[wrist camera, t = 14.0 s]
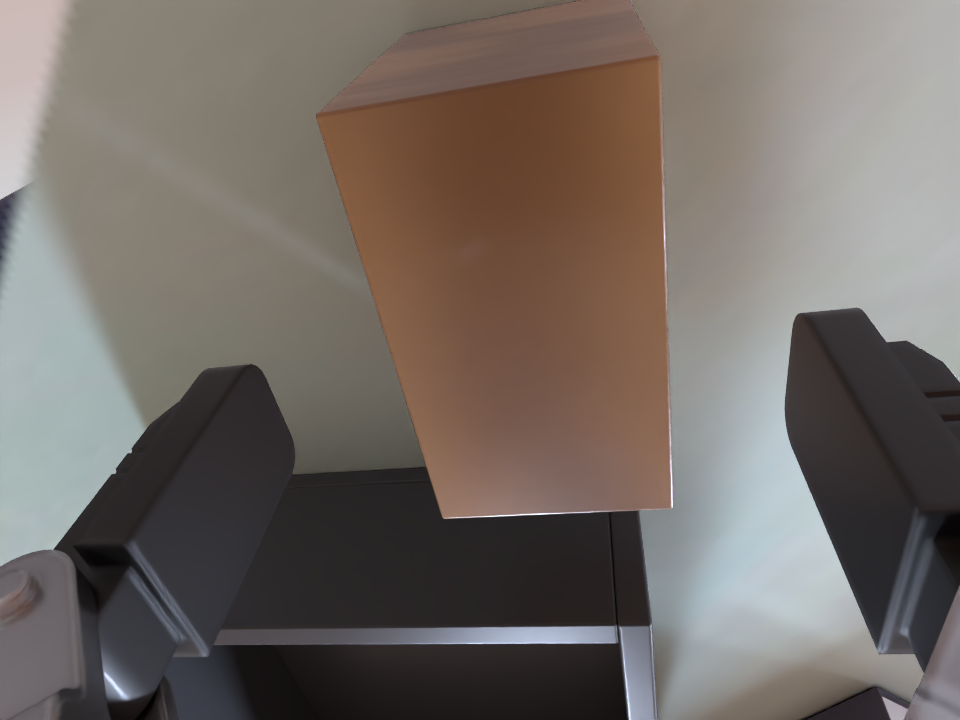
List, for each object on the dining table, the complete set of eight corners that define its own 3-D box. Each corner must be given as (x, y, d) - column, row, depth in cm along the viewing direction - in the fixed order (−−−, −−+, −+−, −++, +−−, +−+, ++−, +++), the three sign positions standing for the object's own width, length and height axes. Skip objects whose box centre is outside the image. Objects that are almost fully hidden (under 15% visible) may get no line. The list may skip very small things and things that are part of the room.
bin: (326, 735, 32) (287, 872, 28) (167, 481, 23) (68, 630, 18) (652, 742, 30) (667, 897, 25) (632, 455, 20) (652, 624, 15)
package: (475, 350, 18) (442, 519, 13) (403, 33, 14) (313, 114, 9) (643, 334, 17) (673, 510, 12) (625, -9, 13) (661, 54, 8)
